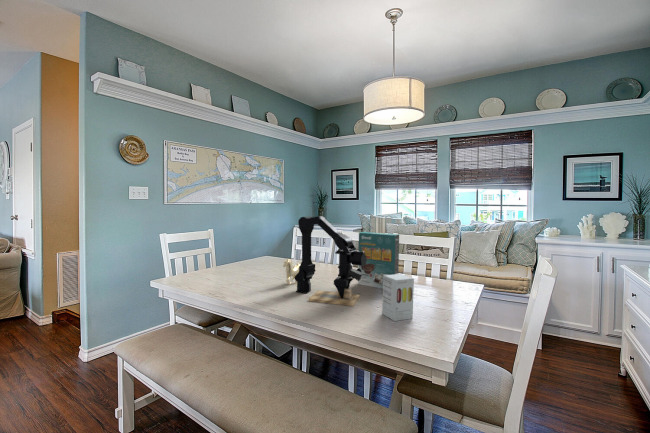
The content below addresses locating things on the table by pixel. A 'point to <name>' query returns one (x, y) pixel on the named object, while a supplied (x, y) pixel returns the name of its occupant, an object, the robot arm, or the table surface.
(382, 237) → the cake mix box
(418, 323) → the table surface
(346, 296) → the block
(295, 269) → the unicorn
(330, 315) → the table surface
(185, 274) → the table surface
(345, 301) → the board
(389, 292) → the supplement box
